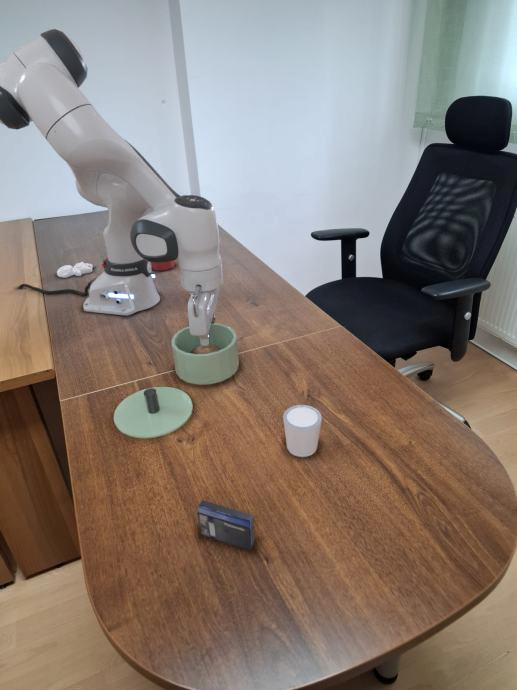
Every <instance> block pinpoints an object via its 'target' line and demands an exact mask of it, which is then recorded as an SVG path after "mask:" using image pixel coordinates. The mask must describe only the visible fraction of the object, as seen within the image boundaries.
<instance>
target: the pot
mask: <svg viewBox="0 0 517 690" xmlns="http://www.w3.org/2000/svg"><path fill="white" fill-rule="evenodd" d="M208 335H209V340H210V341H209V345H214V346H217V347H219V348H221V350H219V351H217V352H212V353H208V354H192V353H191V351H192V350H193V349H194V348H196V347H198V346H202V345H201V344H200V339H199V337H195V336H192V335H191V334H190V330H189V325H188V326H186V327H183V328H181V329H180V330H178V331H176V332H175V334H173V336H172V338H171V339H170V340H171V342H170V343H171V350H172V357H173V363H174V364H173V365H174V369H175V374H176V375H177V377H178V378H179V379H181V380H182V381H183V382H185V383H188V384H193V385H199V386H200V385H212V384H216V383H220V382H223V381H226V380H227V379H229V378H232V376H233V375H234V374H235V373H237V371H238V369H239V366H240V359H239V347H238V344H239V343H238V336H237V333H236V331H235V330H234V329H233V328H232V327H230V326H228V325H225V324H223V323H222V324H221V323H216V322H214V324H211V326H210V329H209V333H208Z"/></svg>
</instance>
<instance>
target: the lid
mask: <svg viewBox="0 0 517 690" xmlns="http://www.w3.org/2000/svg"><path fill="white" fill-rule="evenodd" d="M193 405H194V404H193V400H192V399H191V397H190V396H189V394H187V393H186V392H185V391H183V390H182V389H179V388H176V387H171V386H154V387H147V388H144V389H141V390H138V391H136V392H134V393H132V394H130V395H128V396H126V398H124V399H123V400H122V401H121V402H120V403H119V404H118V405H117V407H116V408H115V410H114V413H113V423H114V426H115V428H116V429H117V430H118V431H119V432H120V433H121V434H124V435H125V436H127V437H131V438H134V439H154V438H160V437H163V436H166V435H169V434H171V433H173V432H175V431H177V430H179V429H180V428H181V427H182V426H184V425H185V424H186V423H187V422H188V421H189V420H190V418H191V416H192V414H193V410H194V406H193Z"/></svg>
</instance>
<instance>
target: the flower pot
mask: <svg viewBox="0 0 517 690" xmlns="http://www.w3.org/2000/svg"><path fill="white" fill-rule="evenodd" d="M175 262H176V260H173V261H169V262H157V263H154V262H151V268H152V270H154V271H158V272H159V271H160V272H163V271H167V270H168V271H169V270H170V269H173V268H174V267H175Z"/></svg>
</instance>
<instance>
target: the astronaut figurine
mask: <svg viewBox="0 0 517 690" xmlns="http://www.w3.org/2000/svg"><path fill="white" fill-rule="evenodd" d="M93 268H94V266H93V263H89V262H86V263H85V262H84V261H80V262H77V263H75V265H74V266H72V265H69V264H66V265H63V266H61V267H59V268H58V269H57V270H56V276H57V277H59V278H63V279H67V278H70V277H72V276H77V277H81V276H82V275H84V274H89V273H90V274H91V273H92V272H93Z"/></svg>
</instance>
